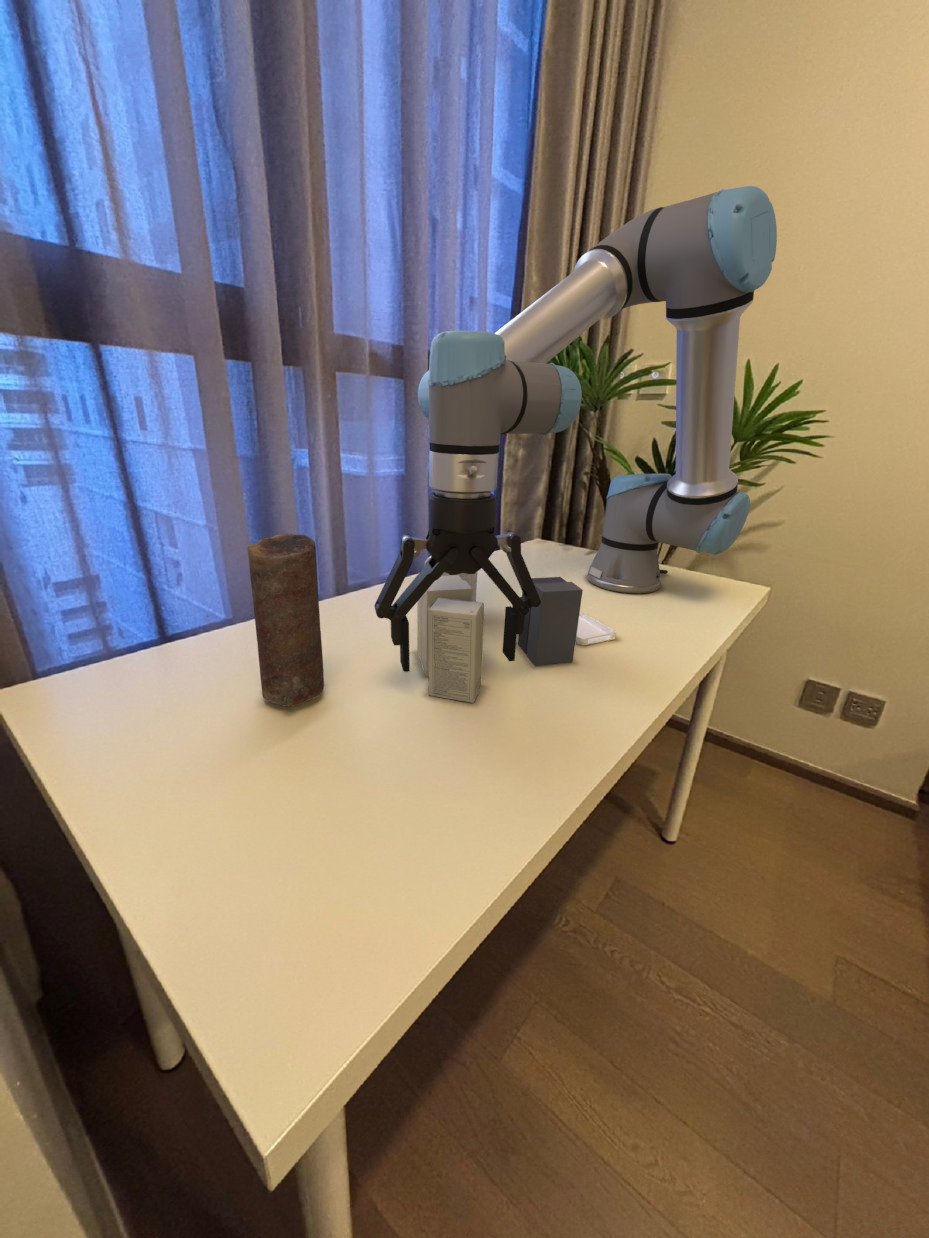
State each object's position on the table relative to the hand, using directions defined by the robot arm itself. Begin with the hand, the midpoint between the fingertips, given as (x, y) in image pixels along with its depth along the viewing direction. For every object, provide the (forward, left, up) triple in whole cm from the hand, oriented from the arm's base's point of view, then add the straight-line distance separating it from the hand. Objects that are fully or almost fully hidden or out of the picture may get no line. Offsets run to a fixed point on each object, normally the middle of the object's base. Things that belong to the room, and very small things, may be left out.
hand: (457, 661), depth 64 cm
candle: (+20, -2, -5) cm, 21 cm away
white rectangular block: (0, -8, -4) cm, 9 cm away
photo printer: (-5, -24, -5) cm, 25 cm away
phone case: (-25, -17, -5) cm, 31 cm away
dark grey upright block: (-16, -8, -4) cm, 18 cm away
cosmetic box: (0, 0, -5) cm, 5 cm away
